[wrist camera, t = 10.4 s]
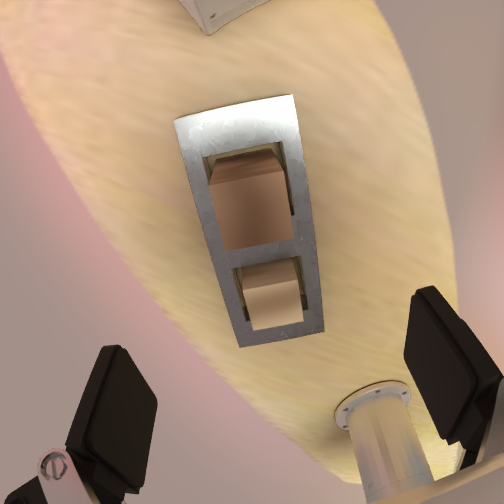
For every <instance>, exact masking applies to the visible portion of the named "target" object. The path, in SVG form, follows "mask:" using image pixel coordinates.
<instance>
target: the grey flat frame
mask: <svg viewBox="0 0 504 504" xmlns="http://www.w3.org/2000/svg"><path fill="white" fill-rule="evenodd" d="M173 121H174V125H175V129H176V133H177V136H178V140H179V144H180V148H181V152H182V156H183V159H184V163H185V167H186V170H187V174H188V178H189V182H190V185H191V189H192V192H193V196H194V200H195V203H196V207H197V210H198V214H199V217H200V221H201V224H202V228H203V231H204V235H205V238H206V241H207V245H208V248H209V252H210V255H211V258H212V262H213V265H214V268H215V272H216V275H217V278H218V281H219V285H220V288H221V291H222V294H223V298H224V301H225V304H226V307H227V310H228V313H229V317H230V320H231V323H232V326H233V329H234V332H235V335H236V338H237V341H238V344H239V347H240V348H241V347H247V346H253V345H259V344H265V343H270V342H276V341H281V340H286V339H291V338H296V337H301V336H306V335H311V334H316V333H320V332H324V320H323V308H322V297H321V287H320V277H319V268H318V259H317V250H316V242H315V234H314V226H313V218H312V211H311V203H310V196H309V189H308V183H307V176H306V169H305V163H304V157H303V151H302V145H301V139H300V133H299V127H298V121H297V116H296V110H295V105H294V100H293V95H289V94H287V95H281V96H275V97H269V98H263V99H258V100H252V101H247V102H242V103H237V104H233V105H228V106H223V107H219V108H215V109H210V110H206V111H202V112H198V113H194V114H190V115H186V116H183V117H179V118H177V119H175V120H173ZM273 142H279V143H280V148H281V153H282V159H283V164H284V170H285V176H286V181H287V187H288V193H289V199H290V205H289V207H290V213H291V220H292V226H293V233H294V239H289V240H284V241H278V242H273V243H268V244H263V245H257V246H252V247H247V248H242V249H236V250H231V251H226V252H225V248H224V244H223V241H222V237H221V233H220V229H219V225H218V221H217V217H216V213H215V210H214V206H213V202H212V198H211V194H210V190H209V183H210V179H211V174H210V170H209V166H208V162H207V158H206V157H207V156H211V155H215V154H220V153H224V152H229V151H233V150H238V149H243V148H248V147H252V146H258V145H263V144H268V143H273ZM294 256H299V263H300V270H301V277H302V284H303V291H304V295H301V296H300V298H301V305H302V313H303V320H304V321H302V322H297V323H292V324H287V325H281V326H276V327H271V328H265V329H260V330H254V331H253V327H252V324H251V320H250V316H249V312H248V309H247V306H245V304H244V300H243V296H242V293H241V289H240V285H239V281H238V278H237V274H236V270H235V268H238V267H243V266H248V265H253V264H258V263H264V262H269V261H274V260H279V259H284V258H289V257H294Z"/></svg>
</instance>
